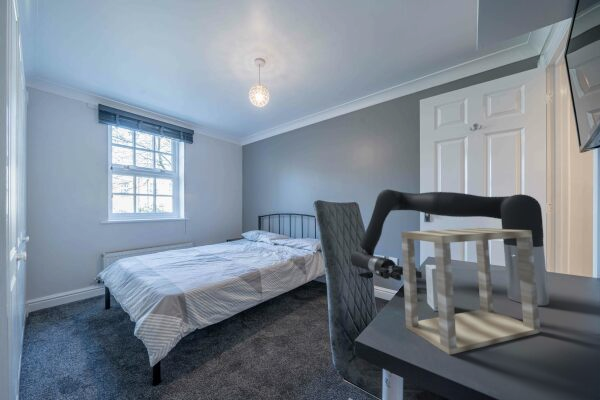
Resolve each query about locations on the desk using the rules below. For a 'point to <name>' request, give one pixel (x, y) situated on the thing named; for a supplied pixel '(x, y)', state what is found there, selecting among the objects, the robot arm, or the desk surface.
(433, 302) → the skincare box
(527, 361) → the desk surface
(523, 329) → the oak counter shelf
